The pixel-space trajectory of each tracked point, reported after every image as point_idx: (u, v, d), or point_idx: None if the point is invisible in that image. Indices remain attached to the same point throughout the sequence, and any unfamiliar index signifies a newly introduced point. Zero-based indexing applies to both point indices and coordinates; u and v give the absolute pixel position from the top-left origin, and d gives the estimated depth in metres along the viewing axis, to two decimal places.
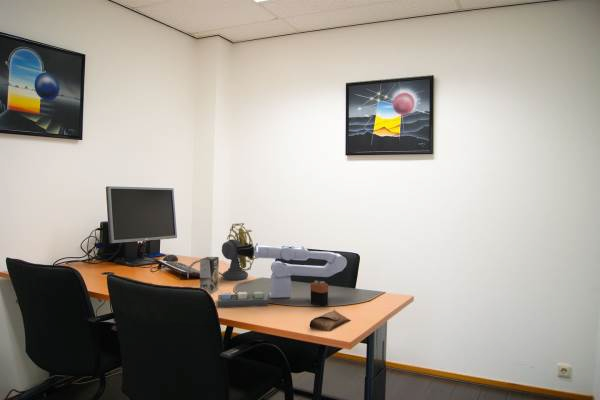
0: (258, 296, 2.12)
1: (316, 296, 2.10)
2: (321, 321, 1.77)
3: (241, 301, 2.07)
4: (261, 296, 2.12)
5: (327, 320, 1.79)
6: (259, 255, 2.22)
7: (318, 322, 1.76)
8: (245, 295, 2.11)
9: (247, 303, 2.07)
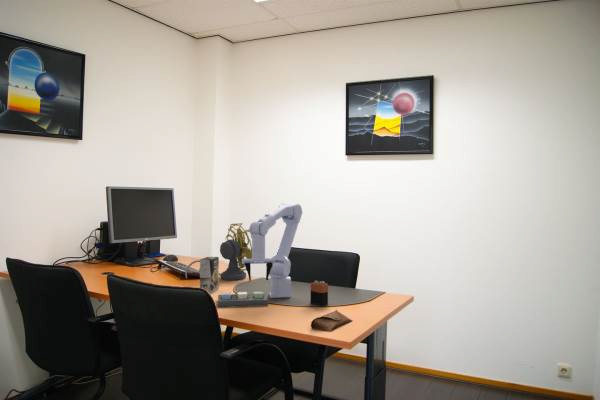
0: (258, 296, 2.12)
1: (316, 296, 2.10)
2: (322, 321, 1.77)
3: (241, 301, 2.07)
4: (261, 296, 2.12)
5: (328, 320, 1.78)
6: None
7: (319, 322, 1.76)
8: (245, 295, 2.11)
9: (247, 303, 2.07)
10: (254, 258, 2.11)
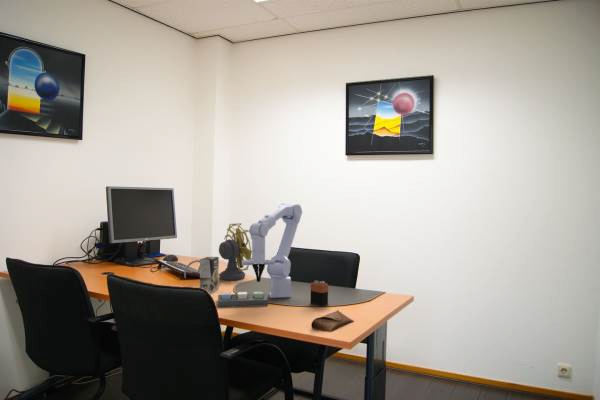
0: (258, 296, 2.12)
1: (316, 296, 2.10)
2: (322, 321, 1.76)
3: (241, 301, 2.07)
4: (261, 296, 2.12)
5: (329, 320, 1.78)
6: None
7: (319, 322, 1.76)
8: (245, 295, 2.11)
9: (247, 303, 2.07)
10: (254, 259, 2.11)
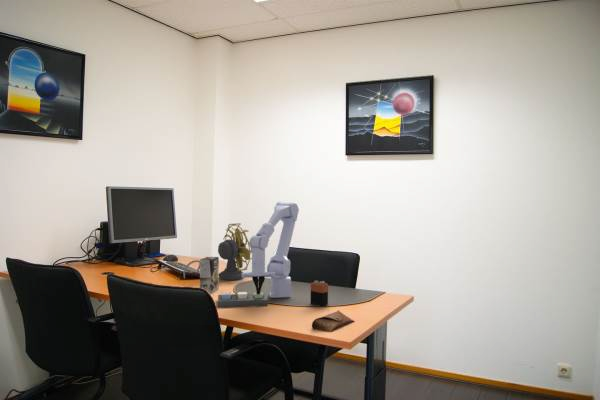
0: (258, 297, 2.12)
1: (316, 296, 2.10)
2: (323, 322, 1.76)
3: (241, 301, 2.07)
4: (261, 297, 2.12)
5: (330, 321, 1.78)
6: None
7: (320, 323, 1.75)
8: (245, 295, 2.11)
9: (247, 303, 2.07)
10: (254, 272, 2.11)
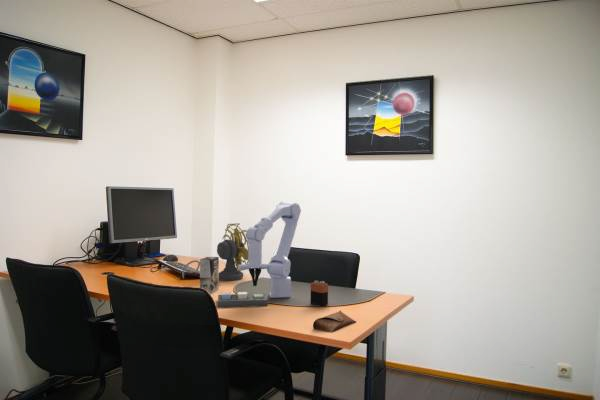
0: None
1: (316, 296, 2.10)
2: (324, 322, 1.76)
3: (241, 301, 2.07)
4: None
5: (331, 321, 1.78)
6: None
7: (321, 323, 1.75)
8: (245, 295, 2.11)
9: (247, 303, 2.07)
10: (250, 264, 2.10)
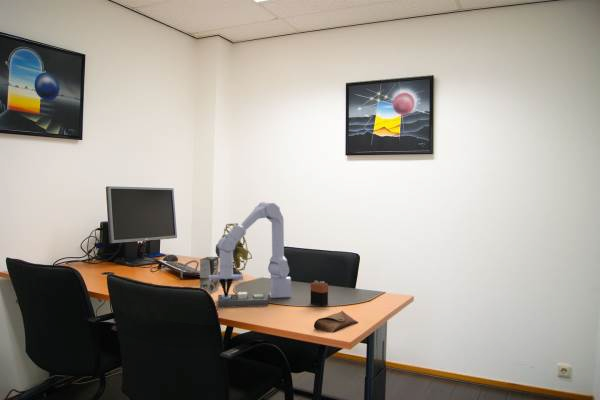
0: None
1: (316, 296, 2.10)
2: (325, 322, 1.76)
3: (241, 301, 2.07)
4: None
5: (332, 321, 1.77)
6: None
7: (322, 323, 1.75)
8: (245, 295, 2.11)
9: (247, 303, 2.07)
10: (221, 274, 2.09)
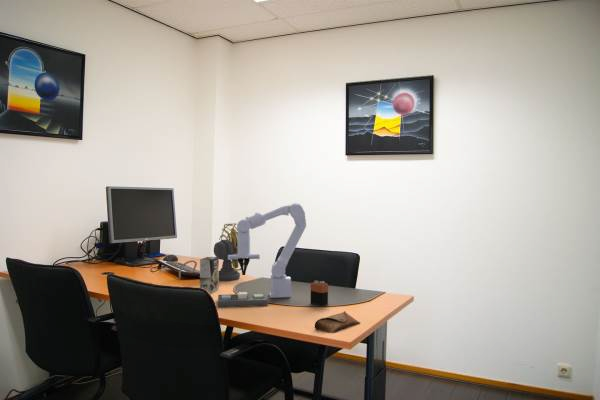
0: None
1: (316, 296, 2.10)
2: (326, 322, 1.75)
3: (241, 301, 2.07)
4: None
5: (333, 321, 1.77)
6: None
7: (322, 323, 1.75)
8: (245, 295, 2.11)
9: (247, 303, 2.07)
10: (239, 254, 2.23)
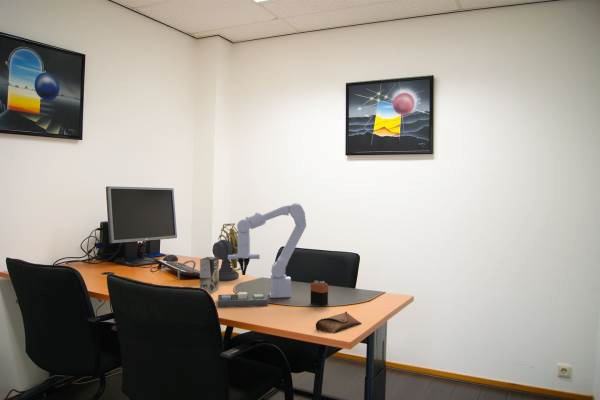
0: None
1: (316, 296, 2.10)
2: (327, 323, 1.75)
3: (241, 301, 2.07)
4: None
5: (334, 322, 1.76)
6: None
7: (323, 324, 1.74)
8: (245, 295, 2.11)
9: (247, 303, 2.07)
10: (239, 254, 2.23)
